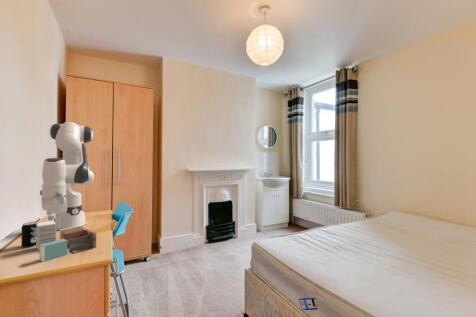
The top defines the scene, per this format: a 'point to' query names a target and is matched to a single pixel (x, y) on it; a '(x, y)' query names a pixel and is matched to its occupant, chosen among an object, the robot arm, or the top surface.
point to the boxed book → (53, 250)
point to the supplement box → (45, 233)
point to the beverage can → (28, 234)
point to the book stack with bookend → (78, 238)
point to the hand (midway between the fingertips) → (54, 221)
